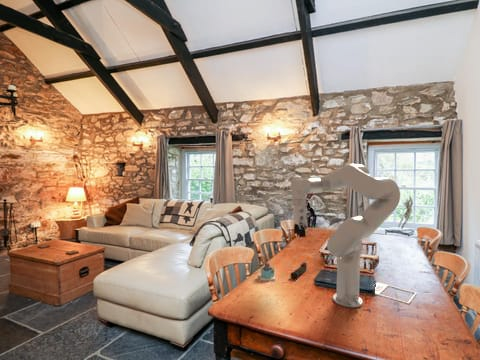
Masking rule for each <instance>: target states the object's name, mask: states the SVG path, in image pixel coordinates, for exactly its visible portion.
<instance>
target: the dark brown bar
mask: <svg viewBox="0 0 480 360" xmlns="http://www.w3.org/2000/svg"><path fill="white" fill-rule="evenodd" d="M307 266H308V264H307V262H303V263H301V264H300V266H299V267H298V268H297V269H295V270H294V271H293V272H290V279H293V280H297V279H298V278H299V277H300V276H301V275H302V274H304V273H306V271H307V268H308V267H307Z"/></svg>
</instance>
